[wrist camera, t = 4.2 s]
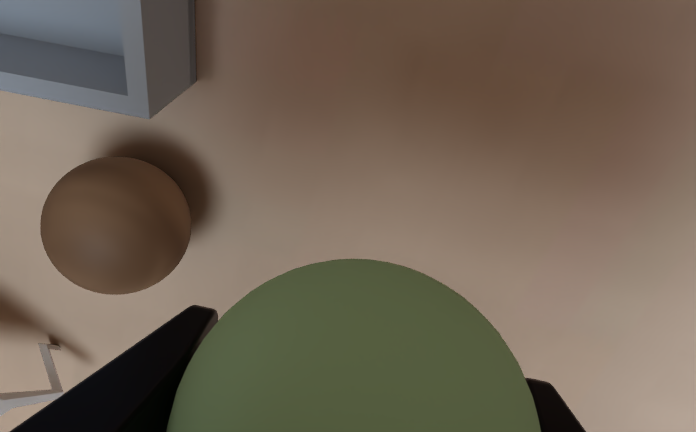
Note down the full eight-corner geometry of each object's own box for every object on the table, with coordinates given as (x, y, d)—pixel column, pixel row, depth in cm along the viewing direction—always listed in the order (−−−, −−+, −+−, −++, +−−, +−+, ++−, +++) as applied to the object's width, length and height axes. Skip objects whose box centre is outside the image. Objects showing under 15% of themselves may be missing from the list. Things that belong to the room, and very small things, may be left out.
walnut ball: (211, 252, 22) (158, 336, 18) (100, 229, 23) (23, 307, 18) (210, 148, 20) (148, 219, 15) (83, 123, 20) (-12, 187, 16)
